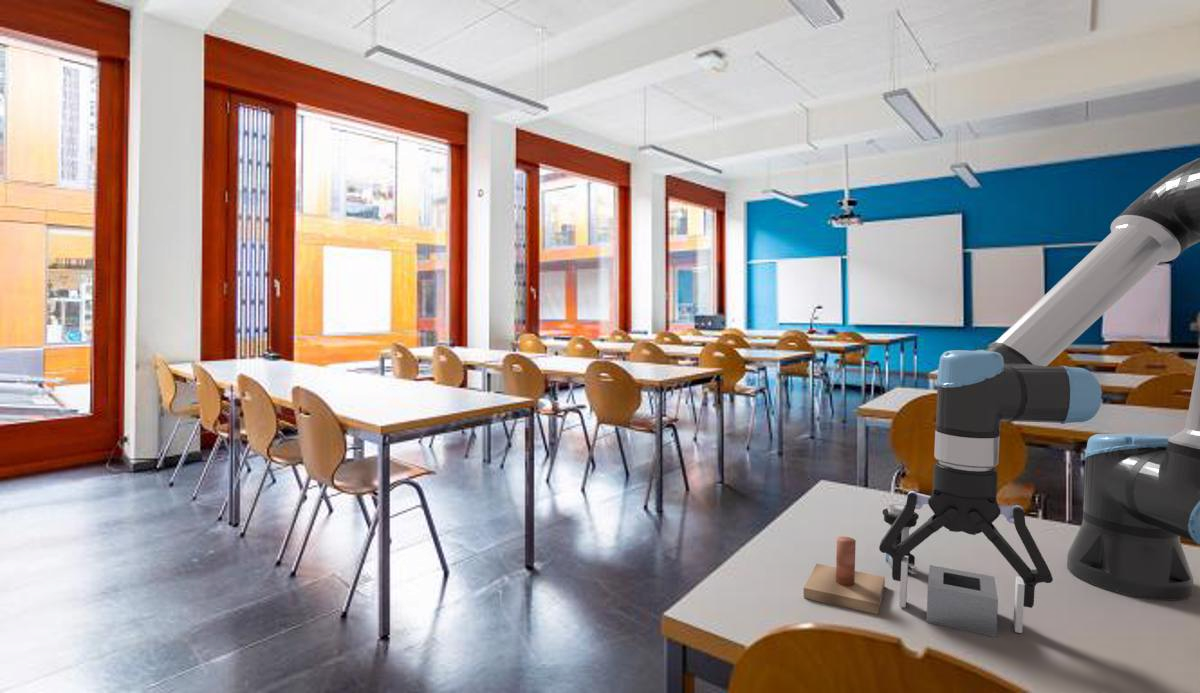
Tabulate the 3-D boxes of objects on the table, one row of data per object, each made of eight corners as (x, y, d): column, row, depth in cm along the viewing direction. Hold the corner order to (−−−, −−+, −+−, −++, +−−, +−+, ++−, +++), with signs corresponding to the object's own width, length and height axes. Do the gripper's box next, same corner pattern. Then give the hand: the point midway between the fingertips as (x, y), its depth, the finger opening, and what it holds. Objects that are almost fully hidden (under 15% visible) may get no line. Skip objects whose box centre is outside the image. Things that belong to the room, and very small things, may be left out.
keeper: (884, 586, 95) (886, 535, 95) (877, 614, 86) (879, 557, 86) (816, 572, 100) (817, 523, 100) (803, 597, 91) (804, 544, 91)
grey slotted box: (992, 611, 87) (994, 576, 87) (996, 637, 80) (997, 599, 80) (928, 598, 91) (929, 564, 91) (926, 621, 84) (927, 585, 84)
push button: (929, 576, 99) (931, 514, 98) (898, 578, 98) (900, 515, 98) (903, 559, 106) (905, 501, 105) (874, 561, 105) (876, 502, 104)
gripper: (1074, 470, 82) (1065, 626, 83) (868, 447, 94) (863, 584, 95) (1085, 484, 75) (1075, 653, 77) (862, 457, 88) (857, 604, 89)
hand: (958, 615), depth 86 cm, fingers open, 13 cm apart
